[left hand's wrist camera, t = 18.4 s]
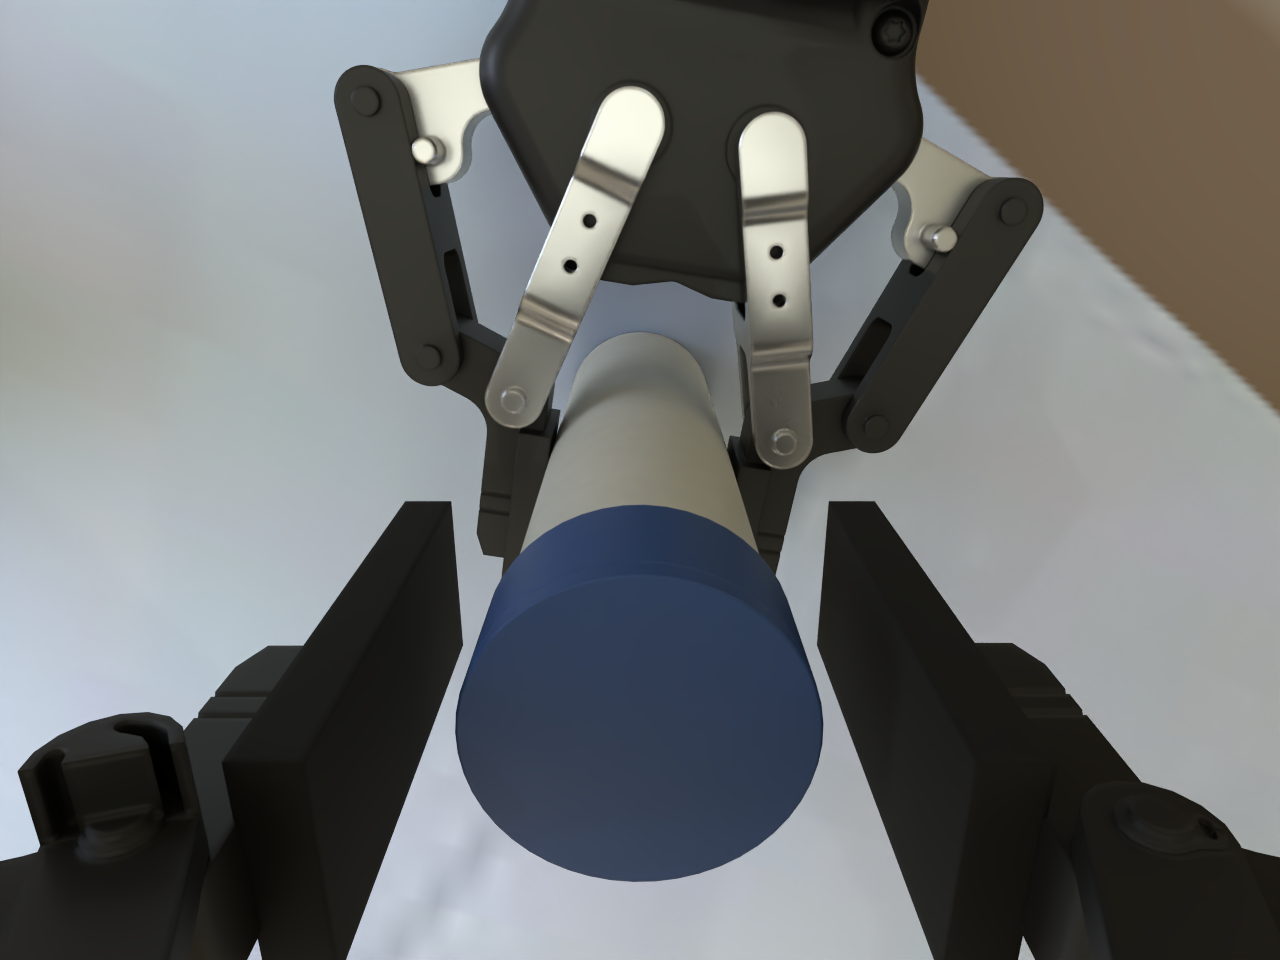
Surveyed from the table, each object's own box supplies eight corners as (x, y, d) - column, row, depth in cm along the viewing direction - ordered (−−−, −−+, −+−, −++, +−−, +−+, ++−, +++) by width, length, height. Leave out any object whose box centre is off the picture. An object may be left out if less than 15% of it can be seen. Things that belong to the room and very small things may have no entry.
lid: (763, 471, 11) (791, 538, 9) (815, 741, 13) (848, 849, 11) (445, 541, 12) (404, 618, 10) (532, 795, 13) (512, 908, 11)
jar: (732, 423, 26) (851, 757, 11) (615, 486, 26) (585, 879, 12) (665, 305, 24) (703, 507, 10) (545, 374, 25) (416, 658, 11)
